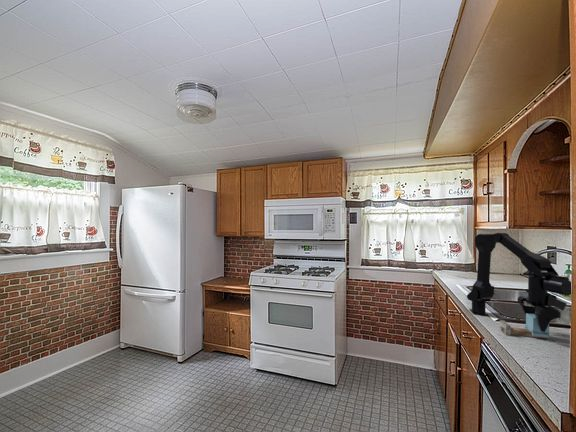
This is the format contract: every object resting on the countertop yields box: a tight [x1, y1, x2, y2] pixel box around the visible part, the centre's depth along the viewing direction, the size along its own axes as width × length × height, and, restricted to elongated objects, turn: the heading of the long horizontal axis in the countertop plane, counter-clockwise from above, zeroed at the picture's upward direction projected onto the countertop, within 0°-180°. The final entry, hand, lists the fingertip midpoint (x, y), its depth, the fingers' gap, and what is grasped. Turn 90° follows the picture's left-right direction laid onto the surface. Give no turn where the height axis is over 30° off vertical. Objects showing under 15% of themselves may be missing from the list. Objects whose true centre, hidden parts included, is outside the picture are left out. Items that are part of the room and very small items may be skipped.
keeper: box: [525, 313, 550, 339], centre depth 110 cm, size 5×6×7 cm
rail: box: [499, 319, 548, 340], centre depth 111 cm, size 14×6×4 cm, turn 72°
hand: (537, 327), depth 110 cm, fingers open, 8 cm apart
